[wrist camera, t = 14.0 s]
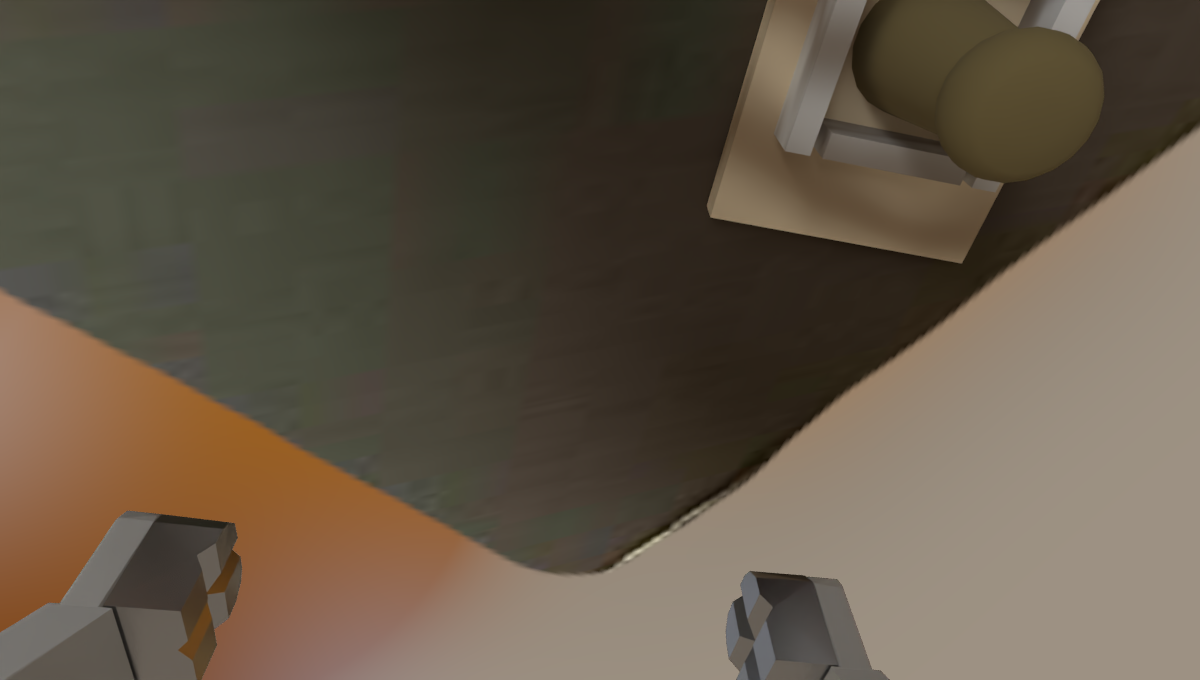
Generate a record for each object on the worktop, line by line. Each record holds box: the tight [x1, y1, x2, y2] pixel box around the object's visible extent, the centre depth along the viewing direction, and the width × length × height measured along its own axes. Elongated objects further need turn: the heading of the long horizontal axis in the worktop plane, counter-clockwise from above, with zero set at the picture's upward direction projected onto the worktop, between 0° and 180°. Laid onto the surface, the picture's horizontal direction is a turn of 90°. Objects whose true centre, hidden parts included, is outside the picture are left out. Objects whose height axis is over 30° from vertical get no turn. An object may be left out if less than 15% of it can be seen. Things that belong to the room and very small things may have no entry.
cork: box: [852, 0, 1104, 183], centre depth 29 cm, size 6×6×11 cm
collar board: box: [707, 0, 1100, 263], centre depth 33 cm, size 20×14×4 cm
